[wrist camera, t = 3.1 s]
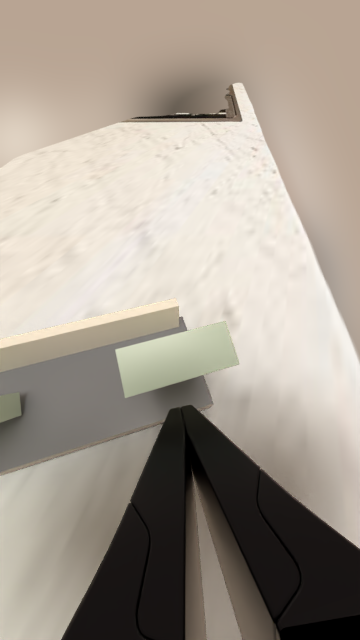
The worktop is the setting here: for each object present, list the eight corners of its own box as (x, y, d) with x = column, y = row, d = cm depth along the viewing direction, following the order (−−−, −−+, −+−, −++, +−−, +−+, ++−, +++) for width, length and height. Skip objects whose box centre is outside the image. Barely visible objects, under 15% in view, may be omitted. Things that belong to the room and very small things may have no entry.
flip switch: (196, 364, 15) (239, 364, 7) (147, 379, 15) (125, 398, 6) (190, 345, 16) (225, 320, 7) (142, 358, 15) (115, 349, 6)
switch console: (210, 407, 16) (220, 394, 11) (-29, 485, 13) (-132, 505, 9) (182, 327, 20) (182, 294, 16) (-4, 374, 18) (-66, 352, 13)
